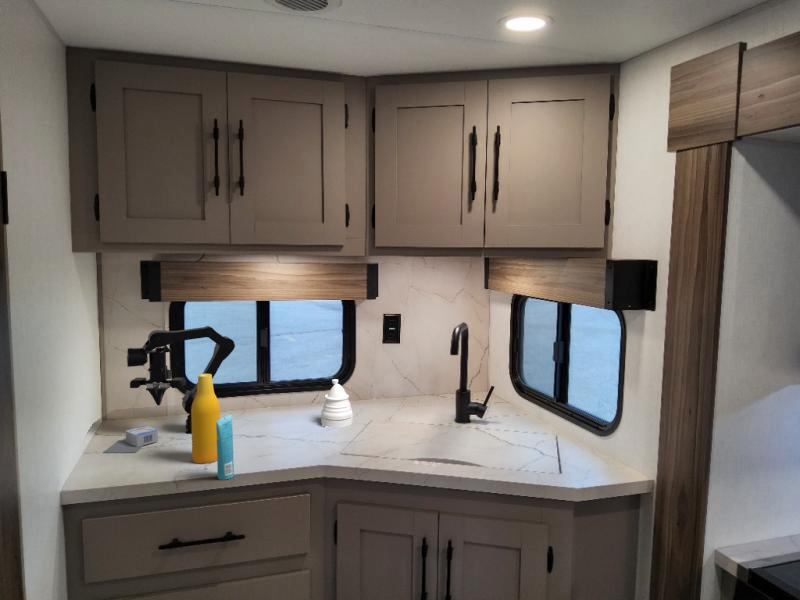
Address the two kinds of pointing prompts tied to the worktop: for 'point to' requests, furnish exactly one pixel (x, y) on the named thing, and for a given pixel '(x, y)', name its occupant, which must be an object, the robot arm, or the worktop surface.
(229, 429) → the tube
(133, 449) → the rubber mat
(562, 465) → the worktop surface
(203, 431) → the beer bottle
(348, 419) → the honey pot
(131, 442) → the medicine box
